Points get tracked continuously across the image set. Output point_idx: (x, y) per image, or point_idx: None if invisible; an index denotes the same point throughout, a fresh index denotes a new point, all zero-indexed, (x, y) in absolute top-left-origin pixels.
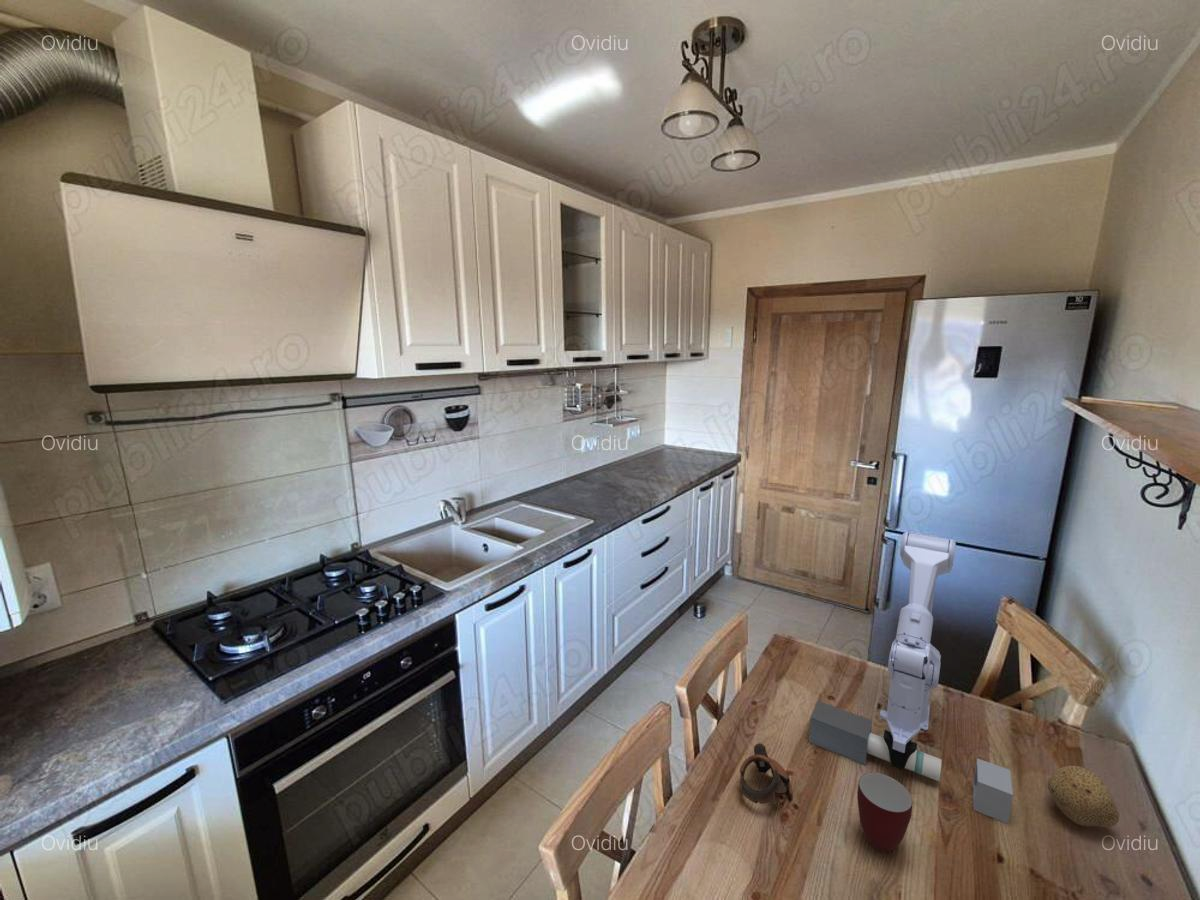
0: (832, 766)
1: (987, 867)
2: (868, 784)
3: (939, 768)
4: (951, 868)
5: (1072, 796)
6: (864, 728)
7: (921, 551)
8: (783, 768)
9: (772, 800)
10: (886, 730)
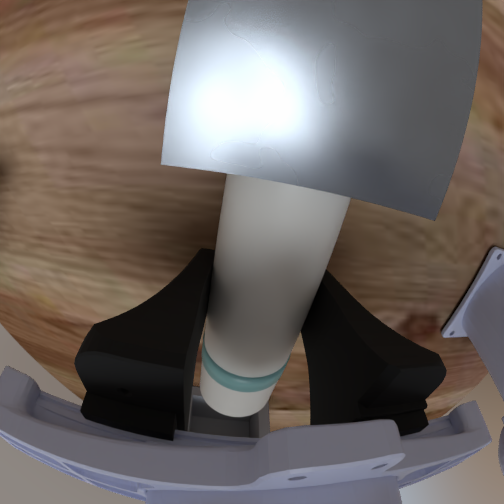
0: (131, 6)
1: (58, 362)
2: None
3: (208, 402)
4: (12, 315)
5: None
6: (318, 141)
7: None
8: None
9: None
10: (184, 379)
